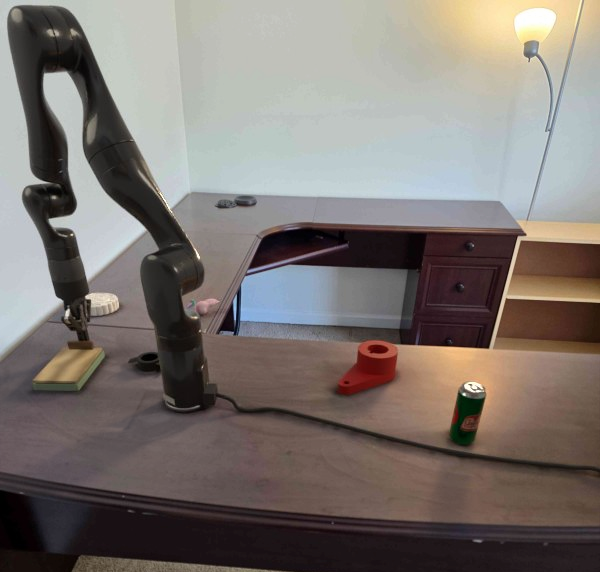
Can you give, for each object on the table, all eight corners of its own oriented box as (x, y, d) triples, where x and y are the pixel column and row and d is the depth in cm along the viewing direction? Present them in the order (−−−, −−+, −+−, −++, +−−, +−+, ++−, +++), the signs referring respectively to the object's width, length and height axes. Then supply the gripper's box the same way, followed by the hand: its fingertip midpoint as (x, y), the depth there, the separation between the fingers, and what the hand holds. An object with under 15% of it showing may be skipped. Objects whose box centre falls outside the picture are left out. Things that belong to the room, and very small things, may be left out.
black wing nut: (153, 356, 127) (152, 345, 125) (176, 369, 121) (174, 358, 120) (126, 366, 122) (124, 355, 121) (148, 380, 116) (146, 369, 115)
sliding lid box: (105, 357, 126) (103, 350, 125) (79, 392, 111) (77, 384, 110) (66, 356, 126) (64, 349, 125) (34, 391, 111) (32, 384, 110)
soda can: (459, 449, 96) (471, 396, 89) (443, 434, 100) (453, 383, 93) (480, 443, 98) (493, 390, 91) (463, 429, 101) (475, 378, 95)
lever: (371, 360, 126) (373, 337, 123) (402, 373, 121) (405, 349, 117) (324, 386, 115) (326, 360, 112) (356, 401, 110) (359, 375, 106)
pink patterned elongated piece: (184, 329, 145) (225, 308, 152) (179, 310, 141) (221, 290, 148) (173, 322, 148) (213, 302, 156) (167, 304, 145) (209, 285, 152)
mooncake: (87, 319, 146) (84, 308, 144) (72, 308, 153) (69, 296, 152) (125, 310, 153) (123, 298, 151) (109, 299, 160) (107, 288, 158)
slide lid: (102, 349, 125) (100, 340, 123) (76, 383, 110) (73, 373, 109) (64, 349, 125) (61, 339, 123) (33, 382, 110) (29, 372, 109)
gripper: (73, 285, 110) (89, 355, 119) (94, 266, 121) (108, 331, 130) (39, 285, 110) (58, 354, 119) (64, 266, 121) (80, 331, 131)
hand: (84, 342), depth 125 cm, fingers closed
